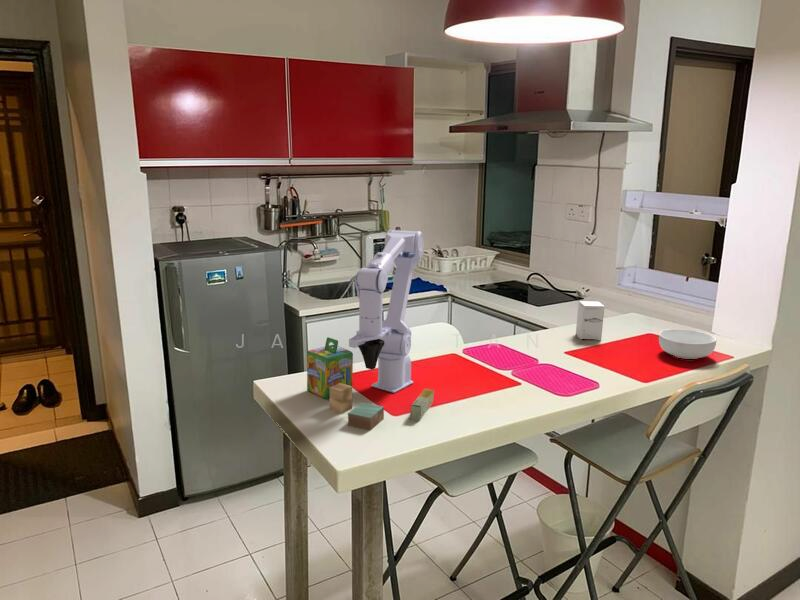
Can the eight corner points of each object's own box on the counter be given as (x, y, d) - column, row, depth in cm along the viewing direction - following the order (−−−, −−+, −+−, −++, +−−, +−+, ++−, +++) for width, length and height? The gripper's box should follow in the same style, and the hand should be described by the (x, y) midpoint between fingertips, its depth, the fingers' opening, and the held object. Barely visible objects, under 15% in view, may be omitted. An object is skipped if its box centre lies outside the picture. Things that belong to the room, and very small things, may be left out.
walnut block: (362, 402, 149) (348, 413, 143) (383, 406, 146) (370, 417, 140) (362, 415, 150) (348, 426, 144) (383, 420, 147) (370, 431, 141)
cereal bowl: (676, 345, 206) (679, 325, 205) (724, 359, 193) (727, 338, 191) (646, 353, 197) (648, 333, 196) (693, 368, 184) (696, 346, 182)
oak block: (340, 404, 155) (340, 382, 154) (352, 408, 153) (352, 386, 152) (329, 409, 152) (329, 387, 151) (341, 413, 150) (341, 391, 149)
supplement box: (580, 340, 211) (583, 305, 208) (575, 334, 218) (578, 300, 215) (601, 340, 210) (605, 305, 207) (595, 334, 217) (599, 300, 214)
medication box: (420, 422, 146) (421, 407, 145) (409, 420, 147) (410, 405, 146) (433, 403, 157) (434, 389, 156) (423, 401, 158) (424, 387, 157)
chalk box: (306, 391, 164) (304, 339, 160) (333, 382, 170) (332, 332, 167) (327, 400, 158) (326, 347, 154) (354, 391, 164) (353, 339, 160)
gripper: (376, 308, 157) (375, 357, 160) (339, 319, 145) (339, 372, 148) (398, 312, 153) (397, 363, 156) (361, 324, 141) (361, 378, 144)
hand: (370, 368), depth 152 cm, fingers closed
